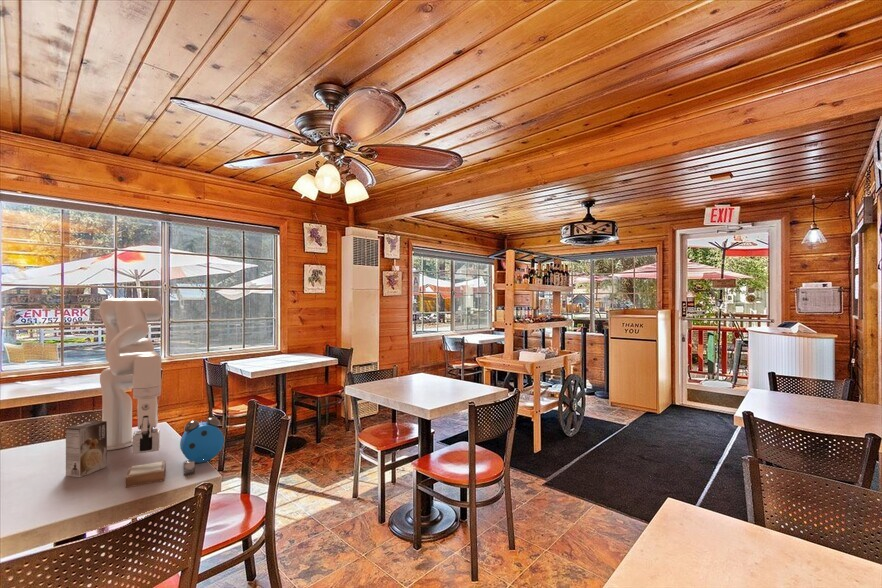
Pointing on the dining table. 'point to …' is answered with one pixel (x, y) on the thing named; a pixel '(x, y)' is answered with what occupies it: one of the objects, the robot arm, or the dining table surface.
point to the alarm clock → (202, 440)
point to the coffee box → (86, 448)
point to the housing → (155, 441)
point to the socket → (189, 467)
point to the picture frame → (145, 474)
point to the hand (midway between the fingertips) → (146, 447)
